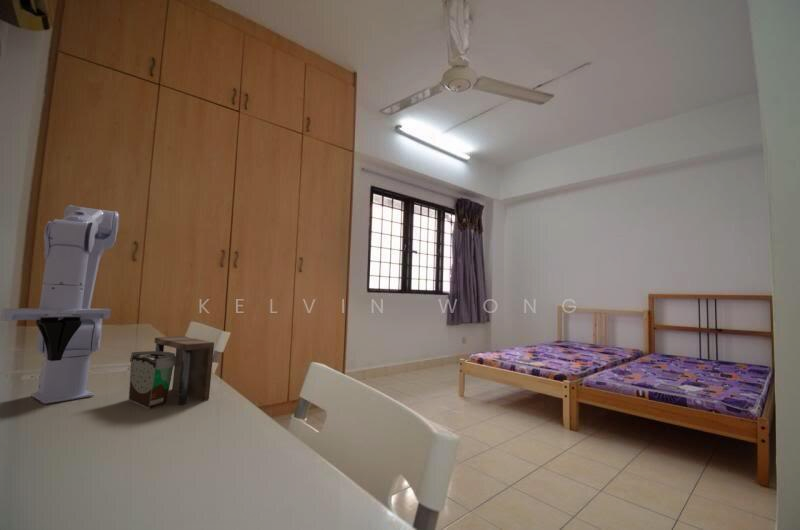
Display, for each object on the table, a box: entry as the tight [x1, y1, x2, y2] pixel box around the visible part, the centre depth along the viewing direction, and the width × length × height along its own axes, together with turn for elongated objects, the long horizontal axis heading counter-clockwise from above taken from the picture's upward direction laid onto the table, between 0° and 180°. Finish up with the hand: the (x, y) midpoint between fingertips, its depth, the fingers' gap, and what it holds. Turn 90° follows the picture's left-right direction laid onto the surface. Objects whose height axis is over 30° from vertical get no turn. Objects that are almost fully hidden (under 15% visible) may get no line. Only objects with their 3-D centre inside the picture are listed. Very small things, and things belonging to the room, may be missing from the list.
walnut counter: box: [154, 335, 215, 406], centre depth 82 cm, size 14×6×13 cm, turn 58°
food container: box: [128, 350, 177, 410], centre depth 78 cm, size 12×6×10 cm, turn 58°
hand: (54, 360), depth 65 cm, fingers closed
